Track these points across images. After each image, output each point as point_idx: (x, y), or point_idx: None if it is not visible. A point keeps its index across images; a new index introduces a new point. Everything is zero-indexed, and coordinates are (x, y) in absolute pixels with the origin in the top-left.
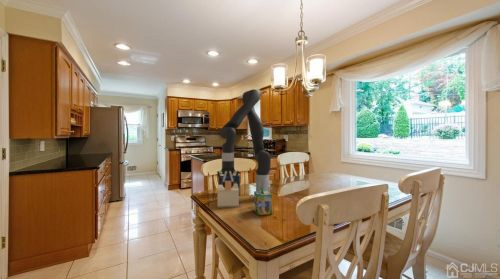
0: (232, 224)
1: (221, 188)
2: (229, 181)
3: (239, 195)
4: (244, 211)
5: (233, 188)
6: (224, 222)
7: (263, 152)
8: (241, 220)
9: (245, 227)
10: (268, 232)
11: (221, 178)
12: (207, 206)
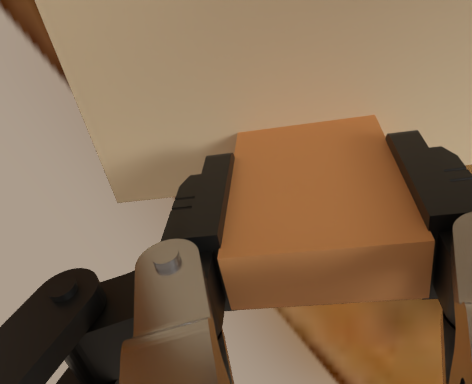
0: (348, 352)
1: (142, 53)
2: (366, 298)
3: None
4: (469, 171)
5: (431, 35)
6: (296, 333)
7: None
8: (411, 314)
9: (423, 378)
10: None
11: (93, 338)
12: (49, 48)
